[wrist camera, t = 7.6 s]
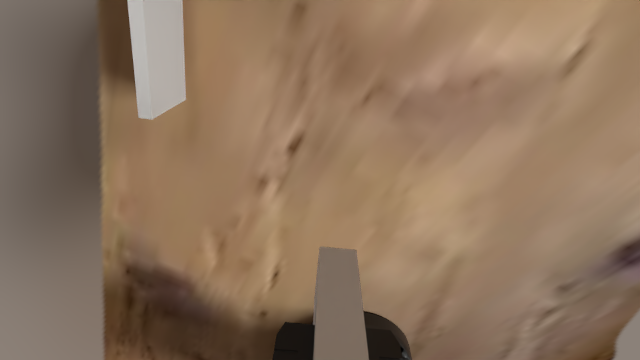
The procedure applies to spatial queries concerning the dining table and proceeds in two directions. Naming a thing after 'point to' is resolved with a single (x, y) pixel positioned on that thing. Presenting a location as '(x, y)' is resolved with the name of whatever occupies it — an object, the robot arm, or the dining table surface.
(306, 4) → the dining table surface
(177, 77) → the door
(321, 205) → the dining table surface
